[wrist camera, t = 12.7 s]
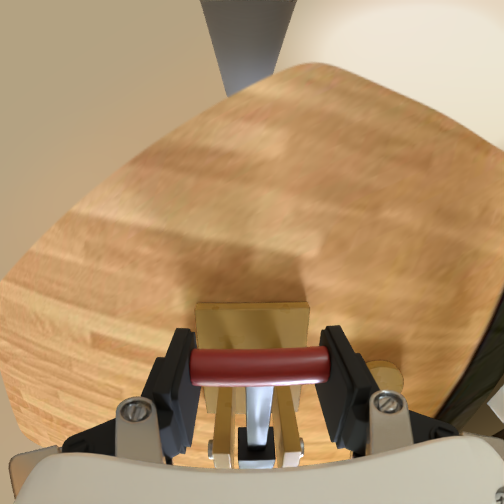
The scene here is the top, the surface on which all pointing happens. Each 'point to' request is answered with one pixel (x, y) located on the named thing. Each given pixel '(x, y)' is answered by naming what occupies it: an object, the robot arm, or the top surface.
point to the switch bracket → (233, 398)
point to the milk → (498, 403)
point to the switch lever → (258, 387)
